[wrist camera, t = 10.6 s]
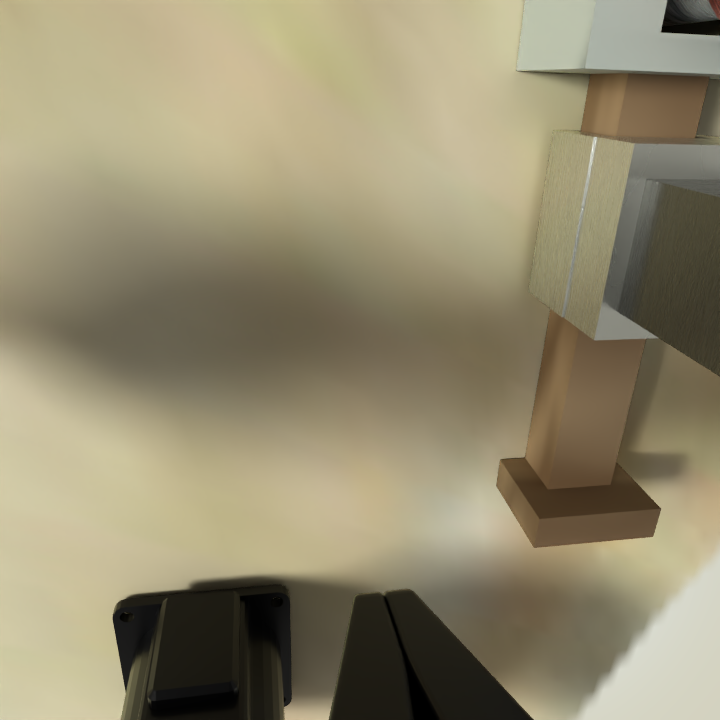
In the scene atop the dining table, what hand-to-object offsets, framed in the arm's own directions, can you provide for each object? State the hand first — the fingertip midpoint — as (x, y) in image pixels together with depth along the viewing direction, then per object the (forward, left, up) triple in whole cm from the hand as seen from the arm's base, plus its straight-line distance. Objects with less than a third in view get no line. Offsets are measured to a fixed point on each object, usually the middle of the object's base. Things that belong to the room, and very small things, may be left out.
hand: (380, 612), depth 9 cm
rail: (0, -9, -12) cm, 15 cm away
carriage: (+3, -9, -12) cm, 16 cm away
